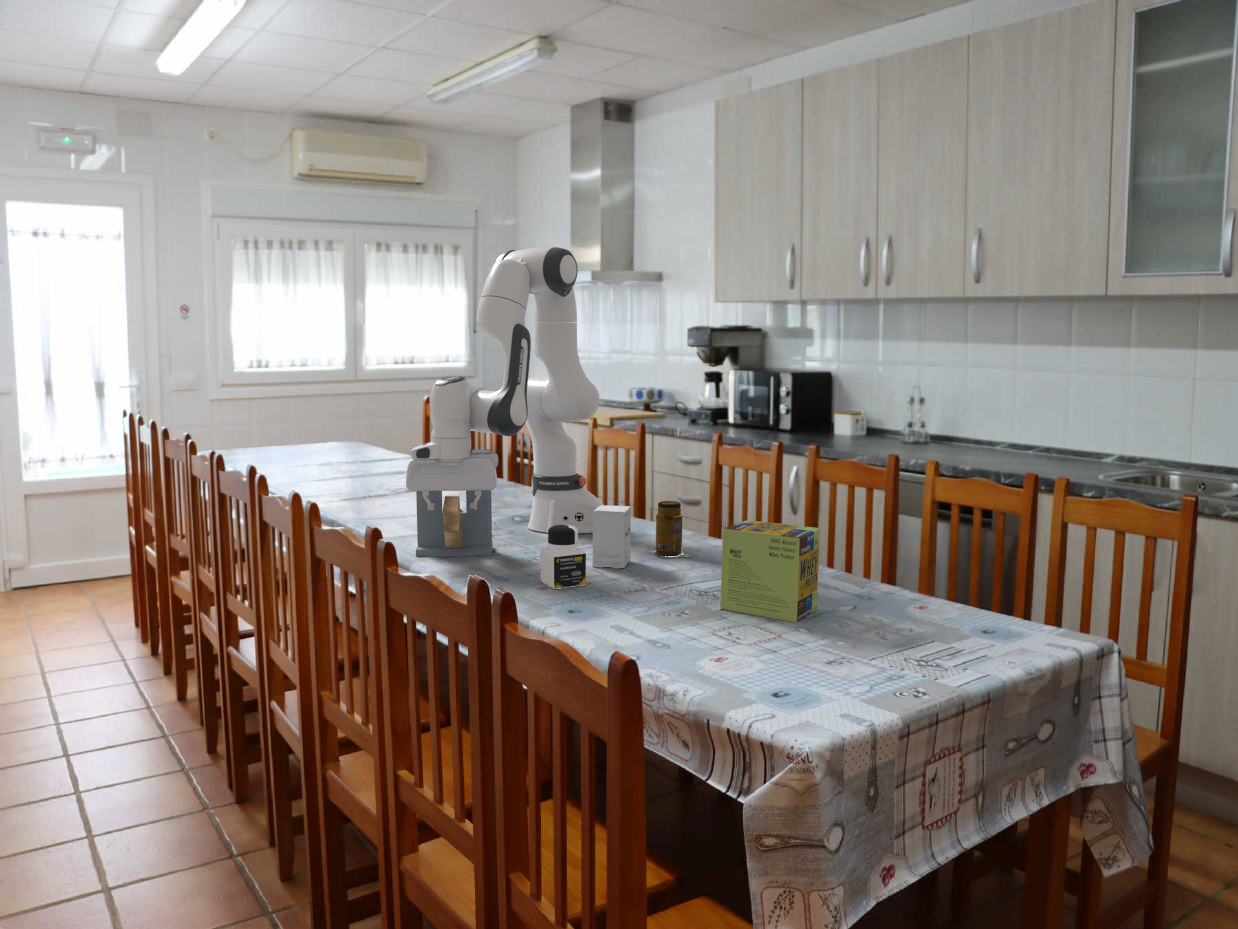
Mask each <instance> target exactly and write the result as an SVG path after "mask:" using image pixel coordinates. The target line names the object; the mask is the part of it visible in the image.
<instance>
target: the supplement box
mask: <svg viewBox="0 0 1238 929" xmlns="http://www.w3.org/2000/svg"><path fill="white" fill-rule="evenodd" d="M631 518H632V507H631V506H629V505H604V504H603V505H600V506H599V507H598V508H596V509H595V510H594V511H593V533H592V567H594V568H603V567H613V568H612V569H619V568H624V569H625V568H626V566H627V565H628V564H629V563H630V561H631V541H632V540H631V535H632V534H631V533H632V532H631V527H632V526H631V525H632V524H631V523H632V521H631Z"/></svg>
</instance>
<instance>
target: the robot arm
mask: <svg viewBox="0 0 1238 929" xmlns="http://www.w3.org/2000/svg"><path fill="white" fill-rule="evenodd" d="M578 272H579V270H578V263H577V260H576V258H575V256H574V255H573V253H572V252H571V251H570V250H568V249H567V248H562V247H558V246H554V247H546V246H545V247H544V246H543V247H541V246H537V247H531V248H530V247H529V248H523V249H518V250H515V249H511V250H507V251H504V252H503V253H501V254H499V256H498V257H497V258H496V260H495V262H494V264H492V267H491V269H490V270H489V272H488V275H487V277H486V280H485V282H484V285H483V287H482V290H481V294H480V297H479V298H480V299H479V301H478V302H479V303H478V305H477V308H476V310H477V311H476V323H477V326H478V329H479V330H480V332H481V333H482V334H483V336H484V337H486V339H487V338H488V339H489V340H490V341H492V342H493V343H495V344H497V345H499V346H501V347H502V349H503V350H504V353H505V360H504V361H505V362H504V372H503V381H502V386H501V388H500V389H498V390H485V389H484V390H483V389H479V388H478V387H475V386H473V385H472V384H470V383H469V382H468V380H467V378H466V377H465V376H461V375H451V376H444V377H440V378H439V379H436V381H434V382H433V384H432V387H431V393H430V404H429V406H430V410H429V411H430V415H429V416H430V420H431V424H432V429H431V430H432V431H431V433H430V442H425V443H423V444H420V445H417V446H415V447H413V448H411V451H410V456H411V460H410V461H409V463H408V464H407V469H406V473H405V474H406V475H405V479H406V480H405V487H406V489H407V490H408V491H409V492H416V491H422V496H423V498H424V499H425V501H426V502H427V503H428V511H434V510H435V502H431V500H430V498H429V497H428V495H429V494H430V491H442V492H451V491H452V492H458V491H460V492H461V491H462V492H463V491H464V492H466V491H475V495H477V497H476V499H475V500H474V501H471V502H470V506H471V507H470V510H477V502H478V500H479V498H480V496H481V494H482V490H491V491H494V490H495V489H496V488H498V475H497V470H496V469H497V467H498V466H499V456H498V454H497V452H496V451H493V450H492V449H489V448H486V449H479V448H476V449H475V448H472V433H471V432H479V433H486V434H495V435H499V436H504V437H513V436H515V435H516V434H518V433H519V432H520V431H521V430H522V429H523V427H524V426H525V425H526V427H527V430H528V432H529V436H530V439H531V443H532V455H533V456H532V457H533V459H532V460H533V473H532V476H531V493H532V504H531V512H530V517H529V521H528V525H527V528H528V529H529V530H531V531H536V532H540V533H547V534H548V529H549V528H550V527H552V526H555V525H571V526H574V527H576V528H577V529H578V534H591V533H592V534H593V511H594V510H595V509H596V508H598V507H599V506H600V505H604V503H603V501H601V500H600V499H599V498H598V497H596V496H595V494H593V493H591V492H590V491H589V490H588V489H586V488H585V486H586V484H587V479H586V477H585V476H584V475H582V474H580V473H577V444H576V442H575V440H574V439H573V438H572V437H571V436H570V435H568V434H567V432H566V431H565V429H564V427H563V424H562V422H571V423H573V422H574V423H575V422H580V421H581V422H582V421H586V420H590V419H593V417H594V416H595V415H596V413H597V412H598V409H599V407H600V400H601V398H600V393H599V390H598V388H597V386H596V385H595V384H594V383H593V382H592V381H591V380H590V379H589V378H588V377H587V375H586V373H585V372H584V369H583V367H582V365H581V361H580V357H579V352H578V315H577V314H578V313H577V303H576V294H575V291H574V289H575V288H574V285H575V283H576V281H577V277H578ZM530 295H533V296H534V304H533V305H534V306H533V316H532V317H533V324H532V325H533V327H532V329H533V330H532V332H533V333H532V334H533V337H531V333H530V330H529V329H528V328H527V327H526V324H525V322H526V321H525V320H526V319H525V318H526V312H527V307H528V303H529V297H530ZM531 338H533V342H532V339H531ZM531 342H532V343H533V353H534V355H535V357H536V358H538V360H540V361H541V362H542V363H543V364H544V366H545V368H546V370H547V375H548V376H532V377H531V376H530V377H529V374H530V372H529V371H530V361H531V349H532V348H531V347H532V343H531Z"/></svg>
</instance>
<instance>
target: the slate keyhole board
mask: <svg viewBox="0 0 1238 929" xmlns="http://www.w3.org/2000/svg"><path fill="white" fill-rule="evenodd" d="M415 493H416V494H415V496H416V531H417V532H416V533H417V535H416V536H417V537H416V538H417V539H416V540H417V547H416V548H415V557H445V556H446V557H449V556H450V557H455V556H456V557H457V556H458V557H459V556H462V557H463V556H466V555H467V556H492V552H493V548H494V541H493V527H492V525H493V518H492V517H493V516H492V514H493V512H492V511H493V510H492V509H493V508H492V490H482V494H481V496H480V498H479V500H478V502H477V510H470V507H471V506H470V502H471V501H474V500H475V499H476V497H477V495H475V491H465V499H466V500H465V502H466V504H465V505H466V506H465V507H466V508H465V509H466V511H463V512H460V513H461V529H462V535H461V543H460V548H446V547H445V534H444V521H443V491H430V494H429V495H428V497H429V498H430V500H431V502H435V510H434V511H428V503H427V502H426V501H425V499H424V498H423V496H422V491H415Z"/></svg>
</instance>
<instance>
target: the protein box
mask: <svg viewBox="0 0 1238 929" xmlns="http://www.w3.org/2000/svg"><path fill="white" fill-rule="evenodd" d="M820 532H821V528H819V527H812V526H802V525H795V524H786V523H779V522H767V521H758V520H751V519H750V520H749V519H746V520H744V521H741V522H738V523H735V524H732V525H729V526H726V527H724V528H722V539H721V540H722V541H721V542H722V545H721V549H722V550H721V582H720V584H721V585H720V586H721V588H720V609H721V610H724V609H725V611H730V612H735V611H736V612H735V613H742V614H747V615H752V616H757V617H763V618H768V619H775V620H779V619H780V621H786V622H791V623H798V622H799V621H800V620H802V619H804V618H806V617H807V616H809V615H810V614H811V613H813V612H815V611H817V610H818V596H819V594H818V593H819V567H820V566H819V565H820V564H819V563H820V562H819V560H820V557H819V556H820V534H821V533H820Z"/></svg>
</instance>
